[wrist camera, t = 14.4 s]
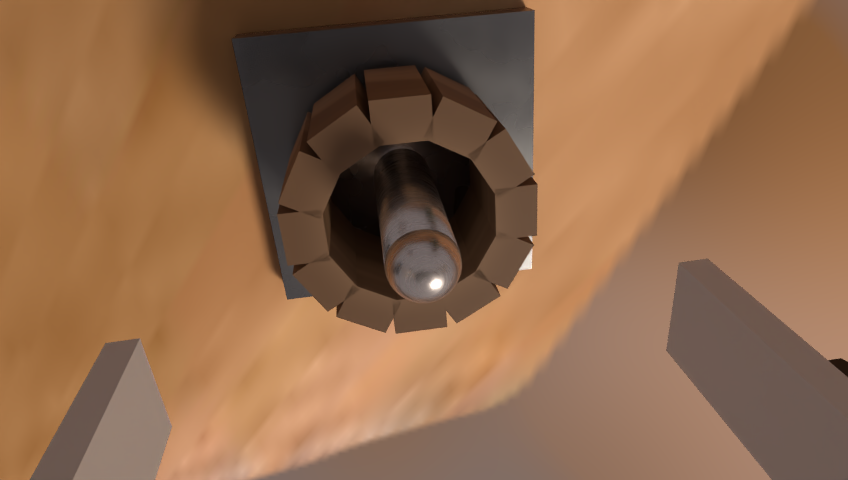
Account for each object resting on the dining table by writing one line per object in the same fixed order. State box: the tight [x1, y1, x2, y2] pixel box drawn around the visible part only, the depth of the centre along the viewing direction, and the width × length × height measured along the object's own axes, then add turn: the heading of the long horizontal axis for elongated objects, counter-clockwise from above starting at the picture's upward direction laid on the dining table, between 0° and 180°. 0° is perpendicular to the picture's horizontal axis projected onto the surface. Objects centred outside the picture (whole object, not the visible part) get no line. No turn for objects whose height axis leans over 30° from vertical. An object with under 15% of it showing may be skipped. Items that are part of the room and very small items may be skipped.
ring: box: [277, 65, 537, 334], centre depth 23 cm, size 9×9×5 cm
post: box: [232, 7, 535, 303], centre depth 22 cm, size 12×12×11 cm
